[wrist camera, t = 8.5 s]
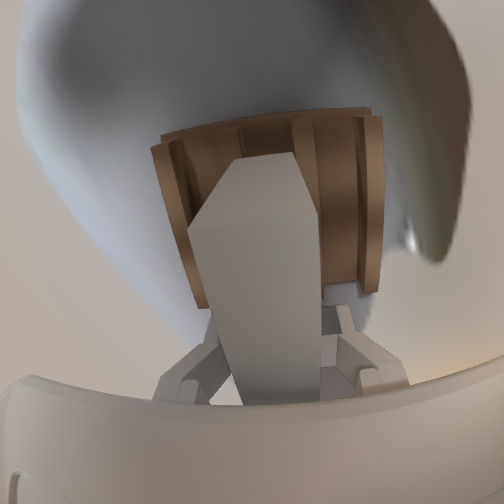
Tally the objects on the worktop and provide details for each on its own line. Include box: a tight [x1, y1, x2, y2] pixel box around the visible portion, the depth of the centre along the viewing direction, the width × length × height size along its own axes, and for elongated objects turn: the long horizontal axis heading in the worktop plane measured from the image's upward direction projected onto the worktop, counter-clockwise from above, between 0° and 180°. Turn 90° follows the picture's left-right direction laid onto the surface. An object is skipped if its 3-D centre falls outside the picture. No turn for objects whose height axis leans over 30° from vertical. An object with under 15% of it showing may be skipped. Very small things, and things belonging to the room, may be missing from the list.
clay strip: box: [187, 152, 321, 405], centre depth 11 cm, size 12×2×7 cm, turn 9°
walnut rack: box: [151, 107, 384, 309], centre depth 20 cm, size 14×15×4 cm
